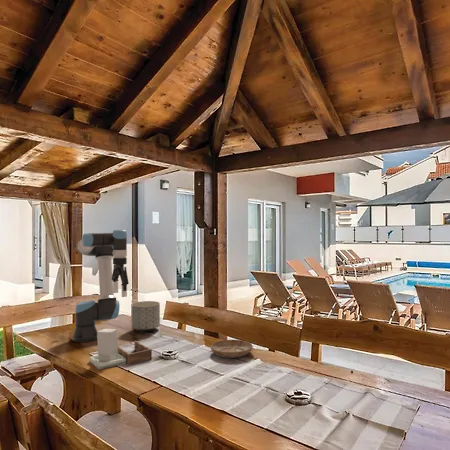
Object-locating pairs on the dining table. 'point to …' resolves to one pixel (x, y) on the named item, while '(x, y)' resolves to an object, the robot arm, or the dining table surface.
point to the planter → (145, 315)
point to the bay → (136, 353)
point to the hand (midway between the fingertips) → (119, 294)
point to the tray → (107, 364)
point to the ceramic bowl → (231, 348)
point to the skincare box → (107, 345)
